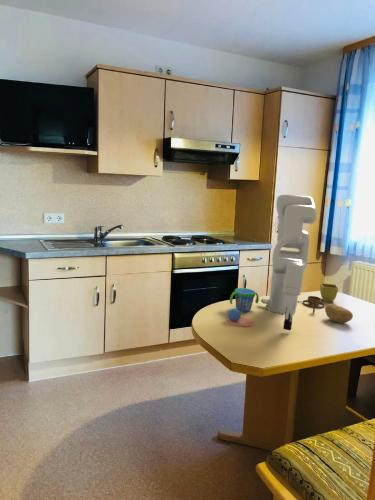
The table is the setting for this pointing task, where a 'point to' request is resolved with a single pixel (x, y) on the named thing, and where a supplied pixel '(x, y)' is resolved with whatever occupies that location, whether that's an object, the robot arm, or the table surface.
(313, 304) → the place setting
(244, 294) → the snack cup
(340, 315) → the potato
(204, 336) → the table surface
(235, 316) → the ball
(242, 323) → the disc
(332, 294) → the flower pot
